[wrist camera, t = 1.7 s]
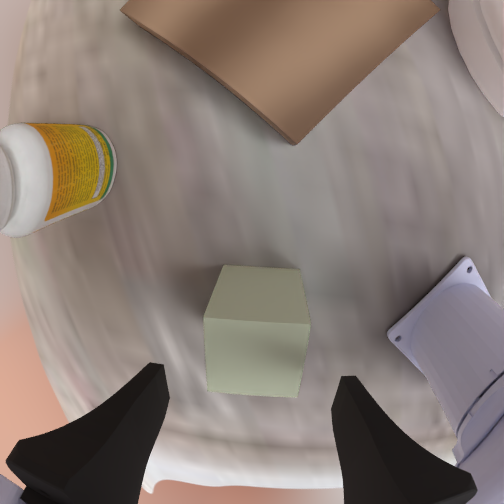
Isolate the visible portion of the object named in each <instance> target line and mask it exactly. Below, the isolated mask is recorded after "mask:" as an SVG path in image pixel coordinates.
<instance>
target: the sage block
mask: <svg viewBox="0 0 504 504" xmlns="http://www.w3.org/2000/svg"><path fill="white" fill-rule="evenodd" d="M203 326H204V346H205V363H206V378H207V391H209V392H218V393H228V394H239V395H253V396H270V397H298V393H299V388H300V383H301V378H302V373H303V368H304V362H305V357H306V351H307V346H308V340H309V334H310V328H311V321H310V316H309V311H308V306H307V301H306V297H305V292H304V287H303V283H302V278H301V274H300V269H288V268H271V267H254V266H238V265H223V268H222V270H221V273H220V275H219V278H218V280H217V283H216V285H215V288H214V290H213V293H212V296H211V298H210V301H209V303H208V306H207V308H206V311H205V314H204V316H203Z"/></svg>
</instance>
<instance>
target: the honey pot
mask: <svg viewBox="0 0 504 504" xmlns="http://www.w3.org/2000/svg"><path fill="white" fill-rule="evenodd" d="M448 13H449V18H450V24H451V30H452V32H453V35H454V38H455V41H456V44H457V47H458V50H459V52H460V54H461V56H462V58H463V60H464V62H465V64H466V66H467V68H468V70H469V72H470V75H471V76H472V78H473V79H474V81H475V82H476V84H477V85H478V87H479V88H480V90H481V92H482V93H483V95H484V96H485V97H486V99H487V100H488V101H489V102H490V103H491V105H492V106H493V107H494V108H495V110H496V111H497V112H498V113H499V114H500V115H501V116H503V117H504V0H449V6H448Z"/></svg>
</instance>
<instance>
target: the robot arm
mask: <svg viewBox="0 0 504 504" xmlns="http://www.w3.org/2000/svg"><path fill="white" fill-rule="evenodd" d="M469 266H470V267H469ZM468 267H469V270H468V271H467V269H468ZM387 336H388V338H389V340H390V341H391V342H392V343H393V344H394V345H395V346H396V347H397V348H398V349H399V350H400V351H401V352H402V353H403V354H404V355H405V356H406V357H407V358H408V359H409V360H410V361H411V362H412V363H413V364H414V365H415V366H416V367H417V368H418V369H419V370H420V371H421V372H422V373H423V374H424V375H425V377H426V379H427V381H428V382H429V384H430V386H431V388H432V390H433V392H434V394H435V395H436V397H437V399H438V401H439V403H440V405H441V407H442V409H443V411H444V413H445V415H446V417H447V419H448V421H449V423H450V425H451V427H452V429H453V431H454V433H455V435H456V437H457V439H458V441H457V444H456V445H455V447H454V448H453V449H452V451H453V454H454V456H455V458H456V461H457V464H456V465H455V466H453V465H451V464H449V463H447V462H445V461H443V460H441V459H440V458H438V457H436V456H435V455H433V454H431V453H430V452H429V451H427V450H426V449H424V448H423V447H421V446H420V445H419V444H417V443H416V442H415V441H414V440H412V439H411V438H410V437H409V436H408V435H407V434H405V433H404V432H403V431H402V430H401V429H400V428H399V427H398V426H397V425H396V424H395V423H394V422H393V421H392V420H391V419H390V418H389V417H388V415H387V414H386V413H385V412H384V411H383V410H382V409H381V407H380V406H379V405H378V404H377V403H376V401H375V400H374V399H373V398H372V396H371V395H370V394H369V392H368V391H367V390H366V389H365V387H364V386H363V385H362V383H361V382H360V381H359V379H358V378H357V377H356V376H341V379H340V383H339V386H338V389H337V392H336V395H335V399H334V402H333V405H332V408H331V412H332V425H333V432H334V437H335V442H336V447H337V451H338V456H339V461H340V465H341V470H342V477H343V488H344V504H504V309H503V308H502V307H501V306H500V305H499V304H498V303H497V302H495V301H494V300H493V299H492V298H491V297H490V295H489V292H488V290H487V288H486V286H485V284H484V282H483V281H482V279H481V277H480V275H479V273H478V271H477V269H476V267H475V265H474V264H473V262H472V260H471V259H470V258H469V257H466V256H465V257H463V258H462V259H461V260H460V261H459V262H458V263H457V264H456V265H455V266H454V268H453V269H452V270H451V271H450V272H449V273H448V274H447V275H446V276H445V277H444V278H443V279H442V280H441V281H440V282H439V283H438V284H437V285H436V286H435V287H434V288H433V289H432V290H431V291H430V292H429V293H428V294H427V295H426V296H425V297H424V298H423V299H422V300H421V301H420V302H419V303H418V304H417V305H416V306H415V307H414V308H412V309H411V310H410V311H409V312H408V313H407V314H406V315H405V316H404V317H403V318H402V319H400V320H399V321H398V322H397V323H396V324H395V325H394V326H392V327H391V328H390V329H389V330H388V332H387ZM398 336H399V338H397V339H395V338H396V337H398ZM169 399H170V396H169V391H168V386H167V381H166V375H165V369H164V365H163V364H157V363H151V362H150V363H149V364H147V365H146V366H145V367H144V368H143V369H142V370H141V371H140V372H139V373H138V374H137V375H136V376H134V377H133V378H132V379H131V380H130V381H129V382H128V383H127V384H126V385H124V386H123V387H122V388H121V389H120V390H119V391H117V392H116V393H115V394H114V395H113V396H111V397H110V398H109V399H107V400H106V401H105V402H104V403H102V404H101V405H99V406H98V407H97V408H95V409H94V410H92V411H91V412H89V413H87V414H86V415H84V416H82V417H81V418H79V419H77V420H75V421H73V422H71V423H69V424H67V425H65V426H63V427H60V428H58V429H55V430H53V431H50V432H48V433H45V434H41V435H38V436H35V437H30V438H26V439H22V440H19V441H18V442H17V444H16V445H15V447H14V448H13V450H12V452H11V453H10V455H9V456H8V458H7V459H6V464H7V465H8V467H9V468H10V470H11V471H12V472H13V473H14V474H15V475H16V476H17V477H18V478H19V479H20V480H21V481H22V482H23V483H24V484H25V485H26V488H25V489H24V490H23V489H22V488H20V487H19V486H17V485H16V484H14V483H13V482H12V481H10V480H8V479H7V478H6V477H4V476H3V475H1V474H0V504H138V499H139V495H140V490H141V485H142V481H143V477H144V473H145V469H146V465H147V462H148V459H149V456H150V454H151V451H152V449H153V446H154V444H155V441H156V439H157V436H158V434H159V431H160V429H161V426H162V424H163V421H164V418H165V415H166V411H167V407H168V403H169Z"/></svg>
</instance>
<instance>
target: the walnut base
mask: <svg viewBox="0 0 504 504" xmlns="http://www.w3.org/2000/svg"><path fill="white" fill-rule="evenodd" d="M120 11H121V12H122V13H124V14H125V15H126V16H128V17H129V18H130V19H131V20H133V21H134V22H135V23H136V24H137V25H139V26H140V27H141V28H143V29H144V30H146V31H147V32H149V33H151V34H152V35H154V36H155V37H157V38H158V39H160V40H161V41H163V42H164V43H166V44H167V45H169V46H170V47H171V48H173V49H174V50H176V51H177V52H179V53H180V54H181V55H183V56H184V57H186V58H187V59H188V60H190V61H191V62H193V63H194V64H195V65H197V66H198V67H199V68H201V69H202V70H203V71H205V72H206V73H207V74H209V75H210V76H211V77H212V78H214V79H215V80H216V81H218V82H219V83H220V84H221V85H223V86H224V87H225V88H227V89H228V90H229V91H230V92H232V93H233V94H234V95H235V96H236V97H238V98H239V99H240V100H241V101H243V102H244V103H245V104H246V105H247V106H248V107H250V108H251V109H252V110H253V111H254V112H256V113H257V114H258V115H259V116H260V117H261V118H263V119H264V120H265V121H266V122H267V123H268V124H269V125H271V126H272V127H273V128H274V129H275V130H276V131H277V132H278V133H279V134H281V135H282V136H283V137H284V138H285V139H286V140H287V141H288V142H289V143H290V144H291V145H297V144H298V143H299V142H300V141H301V140H302V139H303V138H304V137H305V136H306V135H307V134H308V133H309V132H310V131H311V130H312V129H313V128H314V127H315V126H316V125H317V124H318V123H319V122H320V121H321V120H322V119H323V118H324V117H325V116H326V115H327V114H328V113H329V112H330V111H331V110H332V109H333V108H334V107H335V106H336V105H337V104H338V103H339V102H340V101H341V100H342V99H343V98H344V97H345V96H346V95H348V94H349V93H350V92H351V91H352V90H353V89H354V88H355V87H356V86H357V85H358V84H359V83H360V82H361V81H362V80H363V79H364V78H365V77H366V76H367V75H368V74H370V73H371V72H372V71H373V70H374V69H375V68H376V67H377V66H378V65H379V64H380V63H381V62H382V61H383V60H385V59H386V58H387V57H388V56H389V55H390V54H391V53H392V52H393V51H394V50H395V49H397V48H398V47H399V46H400V45H401V44H402V43H403V42H404V41H405V40H407V39H408V38H409V37H410V36H411V35H412V34H413V33H414V32H416V31H417V30H418V29H419V28H420V27H421V26H422V25H424V24H425V23H426V22H427V21H428V20H429V19H430V18H432V17H433V16H434V15H435V14H436V13H437V12H439V11H440V9H439V8H438V7H437V6H436V5H435V4H434V3H433V2H432V1H431V0H129V1H128V2H127V3H126V4H125V5H124V6H123V7H122V8H121V9H120Z"/></svg>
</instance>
